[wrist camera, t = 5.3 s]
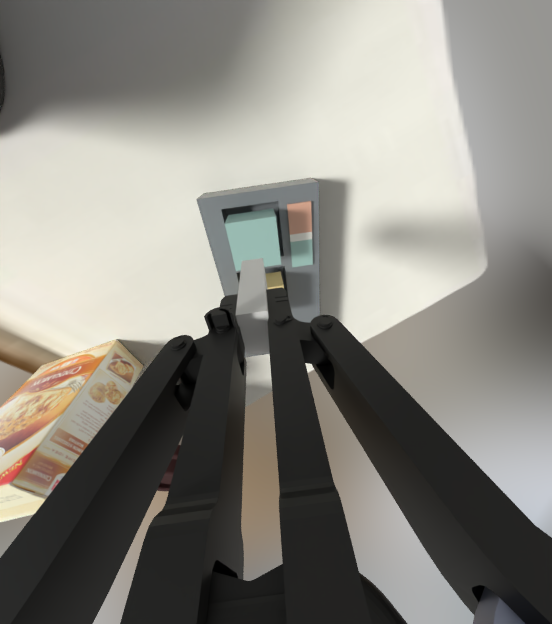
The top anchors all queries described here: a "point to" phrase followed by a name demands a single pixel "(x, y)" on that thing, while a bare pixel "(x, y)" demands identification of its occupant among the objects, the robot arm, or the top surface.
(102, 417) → the coffeecake box
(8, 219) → the top surface
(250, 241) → the key
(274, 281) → the key mid
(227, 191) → the keypad board
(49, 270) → the top surface
